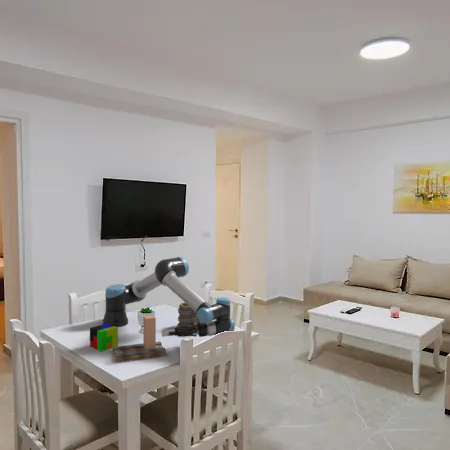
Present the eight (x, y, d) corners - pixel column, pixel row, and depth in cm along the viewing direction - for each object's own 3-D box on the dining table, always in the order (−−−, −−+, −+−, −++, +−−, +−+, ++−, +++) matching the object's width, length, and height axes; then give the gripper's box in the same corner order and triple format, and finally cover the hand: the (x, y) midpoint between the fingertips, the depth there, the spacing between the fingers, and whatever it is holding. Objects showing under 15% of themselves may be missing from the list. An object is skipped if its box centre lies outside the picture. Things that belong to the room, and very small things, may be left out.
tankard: (173, 326, 250) (173, 301, 249) (191, 322, 257) (191, 299, 256) (191, 335, 234) (191, 309, 233) (209, 331, 241) (209, 306, 240)
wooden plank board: (159, 345, 217) (159, 340, 217) (166, 355, 203) (166, 350, 202) (112, 350, 209) (112, 345, 208) (116, 362, 194) (116, 357, 194)
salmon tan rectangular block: (153, 346, 211) (153, 314, 210) (155, 349, 206) (155, 317, 205) (143, 347, 209) (143, 315, 208) (145, 351, 204) (145, 318, 203)
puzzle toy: (106, 341, 221) (106, 323, 221) (117, 346, 215) (117, 327, 214) (89, 346, 214) (89, 327, 213) (101, 351, 207) (101, 332, 207)
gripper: (210, 339, 212) (165, 345, 203) (201, 332, 224) (159, 336, 215) (210, 325, 211) (165, 330, 203) (202, 318, 223) (159, 322, 215)
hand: (162, 333), depth 209 cm, fingers closed
